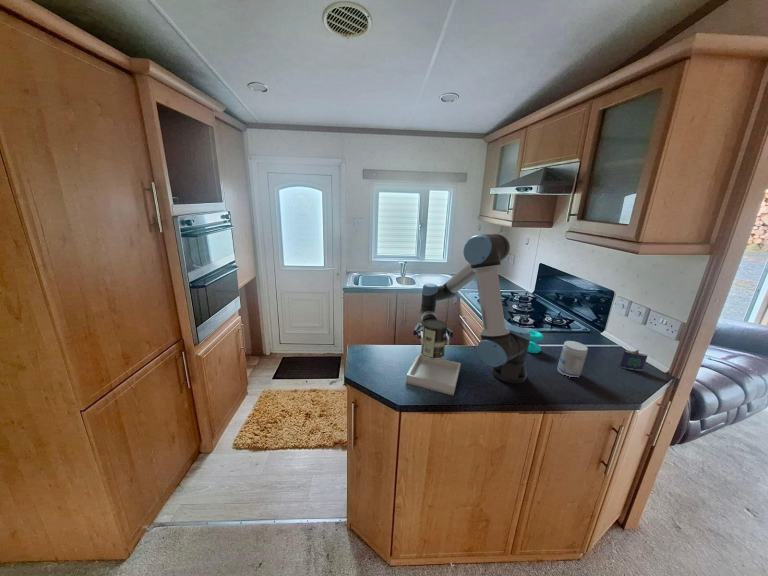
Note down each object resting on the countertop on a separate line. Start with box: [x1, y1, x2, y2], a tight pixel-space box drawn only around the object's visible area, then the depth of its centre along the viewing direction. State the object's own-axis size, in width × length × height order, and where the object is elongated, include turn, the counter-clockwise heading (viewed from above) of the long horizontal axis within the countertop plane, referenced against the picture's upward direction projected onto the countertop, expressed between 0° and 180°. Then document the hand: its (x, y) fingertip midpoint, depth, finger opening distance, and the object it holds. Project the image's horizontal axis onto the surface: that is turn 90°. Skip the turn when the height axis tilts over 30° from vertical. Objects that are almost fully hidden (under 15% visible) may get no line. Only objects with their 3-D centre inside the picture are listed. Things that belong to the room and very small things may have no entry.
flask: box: [619, 349, 648, 370], centre depth 143 cm, size 9×3×11 cm, turn 68°
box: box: [405, 353, 462, 397], centre depth 129 cm, size 20×20×4 cm
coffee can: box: [420, 319, 449, 360], centre depth 126 cm, size 10×10×14 cm
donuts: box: [526, 329, 545, 354], centre depth 158 cm, size 10×10×10 cm
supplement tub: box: [557, 340, 589, 378], centre depth 136 cm, size 10×10×15 cm
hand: (435, 341), depth 121 cm, fingers closed on coffee can, 10 cm apart
